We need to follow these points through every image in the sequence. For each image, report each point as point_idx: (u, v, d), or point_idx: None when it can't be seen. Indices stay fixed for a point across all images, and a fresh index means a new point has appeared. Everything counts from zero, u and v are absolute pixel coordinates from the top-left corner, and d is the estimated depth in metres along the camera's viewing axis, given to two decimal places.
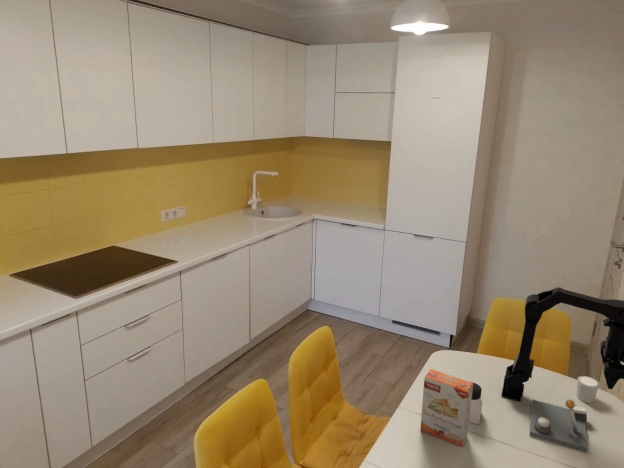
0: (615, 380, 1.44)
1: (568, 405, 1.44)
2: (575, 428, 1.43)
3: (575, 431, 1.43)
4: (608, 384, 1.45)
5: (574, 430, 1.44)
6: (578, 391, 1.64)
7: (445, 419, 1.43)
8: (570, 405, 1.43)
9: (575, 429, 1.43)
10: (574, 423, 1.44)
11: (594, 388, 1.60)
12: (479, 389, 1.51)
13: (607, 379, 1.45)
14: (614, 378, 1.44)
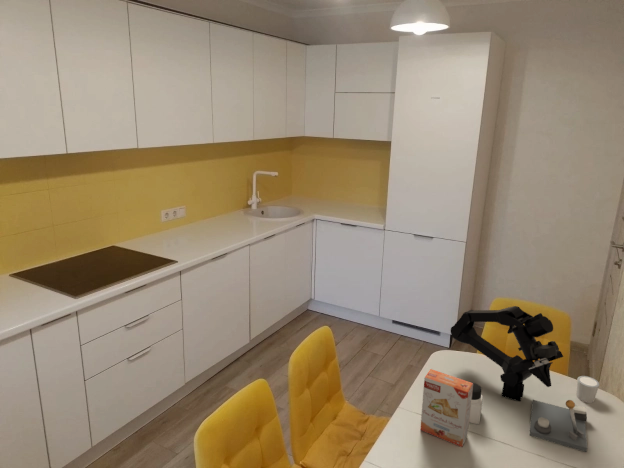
0: (541, 374, 1.52)
1: (568, 405, 1.44)
2: (575, 428, 1.43)
3: (575, 431, 1.43)
4: (543, 382, 1.52)
5: (574, 430, 1.44)
6: (578, 391, 1.64)
7: (445, 419, 1.43)
8: (570, 405, 1.43)
9: (575, 429, 1.43)
10: (574, 423, 1.44)
11: (594, 388, 1.60)
12: (479, 389, 1.51)
13: (537, 377, 1.53)
14: (540, 373, 1.52)
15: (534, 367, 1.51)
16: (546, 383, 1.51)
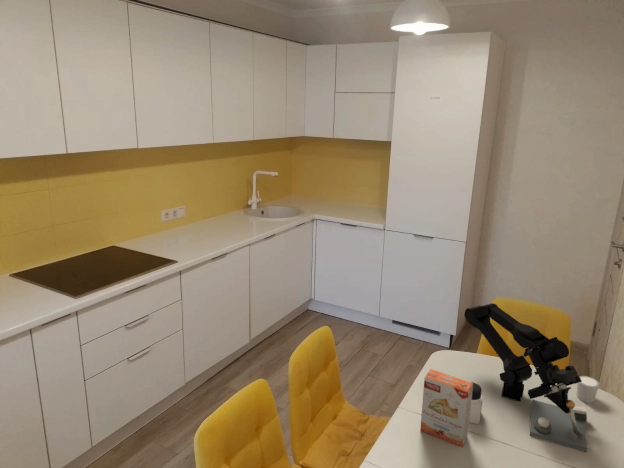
0: (559, 400, 1.46)
1: (568, 405, 1.44)
2: (575, 428, 1.43)
3: (575, 431, 1.43)
4: (561, 408, 1.47)
5: (574, 430, 1.44)
6: (578, 391, 1.64)
7: (445, 419, 1.43)
8: (570, 405, 1.43)
9: (575, 429, 1.43)
10: (574, 423, 1.44)
11: (594, 388, 1.60)
12: (479, 389, 1.51)
13: (555, 402, 1.48)
14: (558, 399, 1.47)
15: (552, 393, 1.46)
16: (564, 409, 1.46)
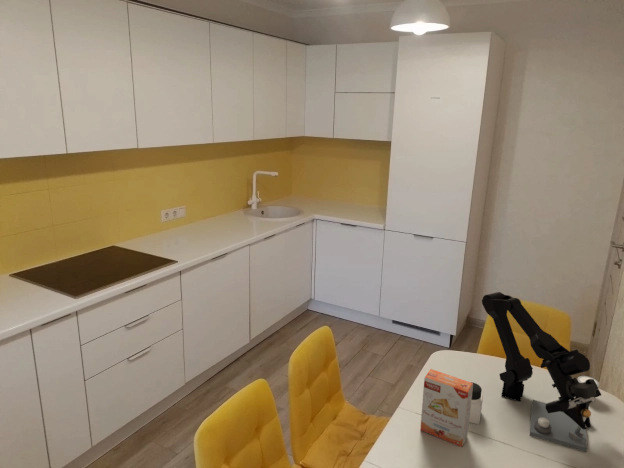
0: (576, 416, 1.40)
1: (584, 414, 1.39)
2: (578, 431, 1.42)
3: (577, 433, 1.43)
4: (578, 423, 1.41)
5: (576, 432, 1.43)
6: None
7: (445, 419, 1.43)
8: (586, 415, 1.38)
9: (578, 431, 1.43)
10: (580, 427, 1.42)
11: None
12: (479, 389, 1.51)
13: (572, 417, 1.42)
14: (575, 414, 1.41)
15: (569, 408, 1.40)
16: (582, 425, 1.40)
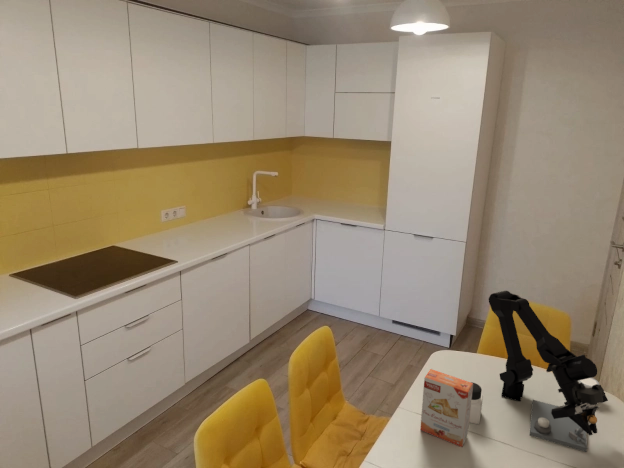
0: (583, 421, 1.38)
1: (590, 421, 1.37)
2: (580, 432, 1.42)
3: (578, 434, 1.43)
4: (584, 429, 1.39)
5: (577, 433, 1.43)
6: None
7: (445, 419, 1.43)
8: (592, 422, 1.37)
9: (579, 433, 1.42)
10: (582, 430, 1.41)
11: None
12: (479, 389, 1.51)
13: (578, 423, 1.40)
14: (581, 420, 1.39)
15: (575, 414, 1.38)
16: (588, 431, 1.38)
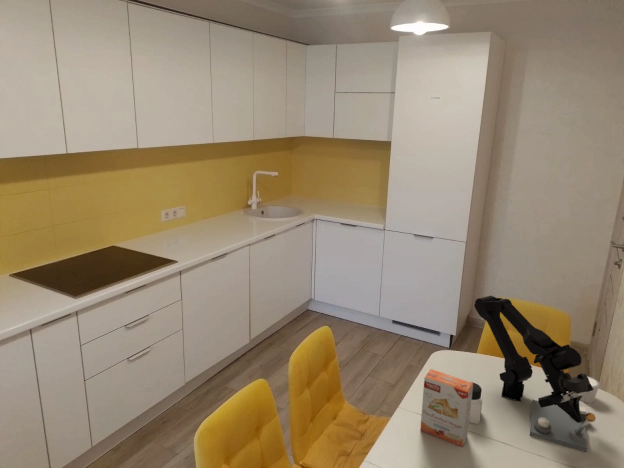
0: (570, 409, 1.43)
1: (588, 419, 1.38)
2: (579, 432, 1.42)
3: (577, 433, 1.43)
4: (572, 417, 1.43)
5: (577, 432, 1.43)
6: None
7: (445, 419, 1.43)
8: (590, 420, 1.37)
9: (579, 432, 1.42)
10: (582, 429, 1.41)
11: (594, 388, 1.60)
12: (479, 389, 1.51)
13: (566, 411, 1.44)
14: (569, 407, 1.43)
15: (563, 401, 1.42)
16: (576, 418, 1.42)
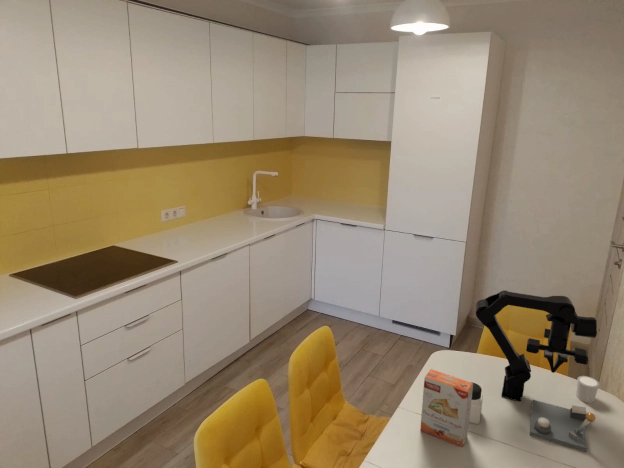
0: None
1: (588, 419, 1.38)
2: (579, 432, 1.42)
3: (577, 433, 1.43)
4: (556, 369, 1.58)
5: (577, 432, 1.43)
6: (578, 391, 1.64)
7: (445, 419, 1.43)
8: (590, 420, 1.37)
9: (579, 432, 1.42)
10: (582, 429, 1.41)
11: (594, 388, 1.60)
12: (479, 389, 1.51)
13: None
14: None
15: None
16: None
